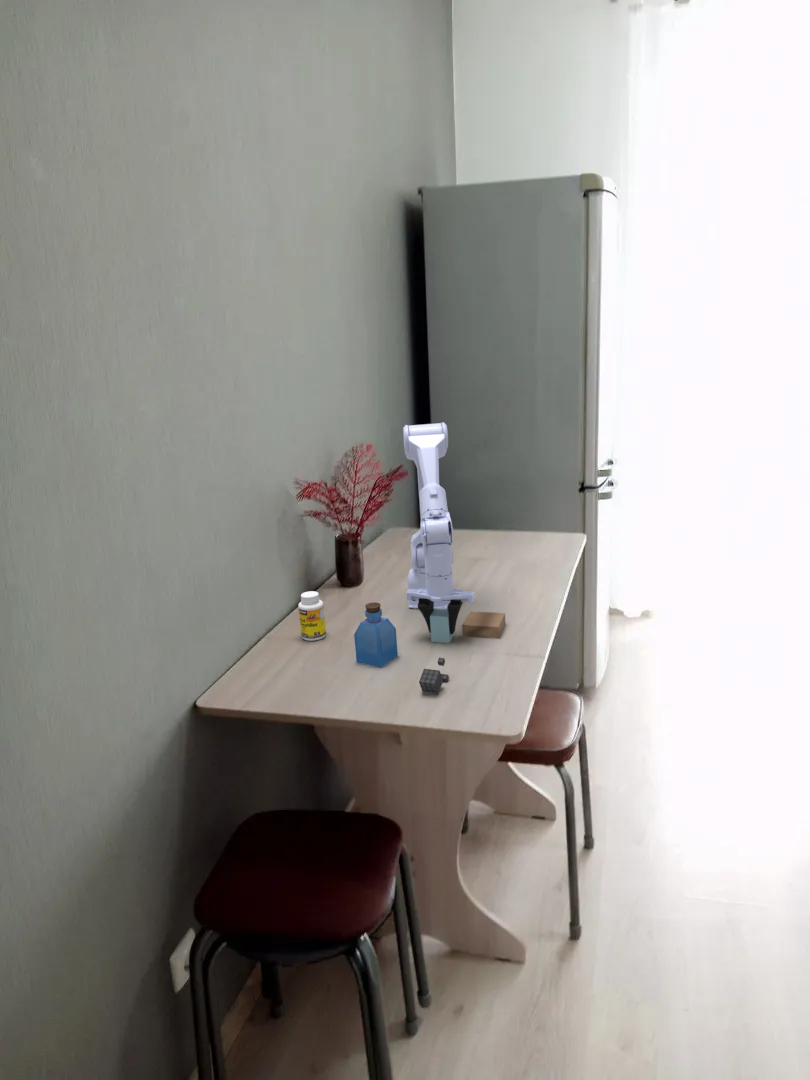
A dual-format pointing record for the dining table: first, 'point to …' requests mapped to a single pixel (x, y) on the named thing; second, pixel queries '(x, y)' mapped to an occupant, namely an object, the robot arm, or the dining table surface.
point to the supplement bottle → (311, 616)
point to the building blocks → (433, 679)
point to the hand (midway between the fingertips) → (442, 631)
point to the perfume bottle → (375, 638)
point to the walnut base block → (483, 624)
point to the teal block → (440, 626)
